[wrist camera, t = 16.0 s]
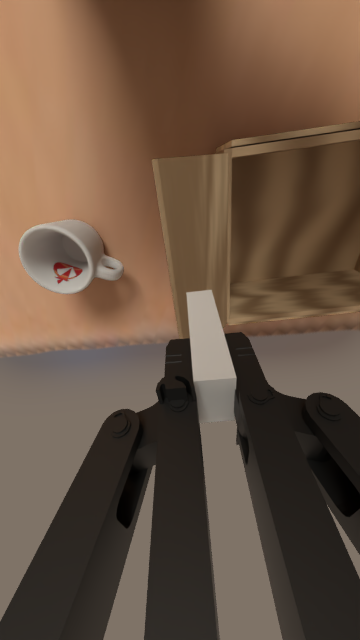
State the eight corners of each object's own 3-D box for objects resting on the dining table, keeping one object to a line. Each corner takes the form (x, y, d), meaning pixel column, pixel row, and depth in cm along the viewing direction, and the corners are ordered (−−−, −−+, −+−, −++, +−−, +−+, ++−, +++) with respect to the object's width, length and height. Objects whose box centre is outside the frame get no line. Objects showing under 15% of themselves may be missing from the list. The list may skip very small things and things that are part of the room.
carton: (213, 290, 35) (224, 327, 27) (208, 150, 25) (224, 141, 17) (353, 275, 34) (409, 308, 26) (408, 121, 24) (531, 95, 16)
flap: (223, 323, 26) (184, 372, 21) (223, 154, 17) (151, 159, 11) (226, 323, 26) (187, 374, 20) (227, 153, 17) (157, 158, 11)
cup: (136, 234, 30) (125, 253, 24) (122, 283, 34) (110, 310, 28) (54, 201, 28) (16, 211, 21) (50, 258, 32) (17, 281, 25)
